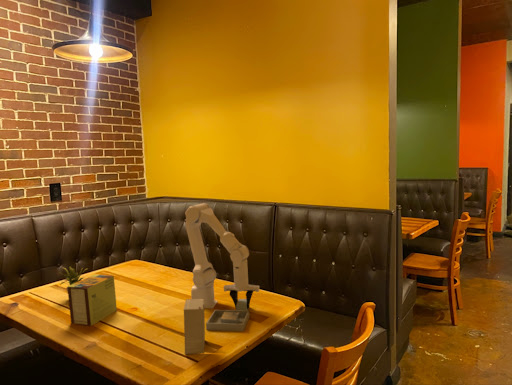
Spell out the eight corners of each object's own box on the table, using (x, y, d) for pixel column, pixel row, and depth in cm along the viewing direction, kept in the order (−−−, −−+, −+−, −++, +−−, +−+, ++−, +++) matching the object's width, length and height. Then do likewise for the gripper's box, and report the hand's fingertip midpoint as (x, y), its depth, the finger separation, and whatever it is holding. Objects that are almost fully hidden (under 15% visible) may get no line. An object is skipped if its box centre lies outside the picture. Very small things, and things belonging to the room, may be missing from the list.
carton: (236, 314, 152) (236, 304, 151) (239, 308, 158) (238, 299, 157) (246, 314, 151) (245, 304, 151) (248, 308, 157) (248, 299, 157)
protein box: (117, 310, 161) (114, 275, 160) (91, 326, 147) (87, 288, 145) (97, 308, 165) (94, 273, 163) (70, 323, 150) (66, 286, 148)
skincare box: (186, 342, 130) (183, 298, 129) (207, 340, 131) (204, 297, 129) (184, 355, 122) (180, 308, 120) (206, 353, 123) (203, 307, 121)
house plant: (49, 303, 172) (45, 269, 171) (73, 292, 185) (70, 260, 183) (72, 307, 167) (68, 271, 165) (95, 295, 180) (92, 262, 178)
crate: (206, 331, 138) (206, 323, 138) (215, 316, 150) (214, 309, 150) (243, 332, 136) (243, 324, 136) (249, 317, 148) (249, 310, 147)
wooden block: (220, 327, 139) (220, 318, 139) (224, 320, 145) (224, 311, 145) (236, 328, 138) (236, 319, 138) (240, 320, 144) (239, 312, 144)
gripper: (221, 279, 150) (222, 311, 151) (256, 279, 148) (258, 312, 149) (225, 273, 157) (227, 304, 158) (259, 273, 154) (261, 305, 156)
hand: (242, 307), depth 154 cm, fingers closed on carton, 4 cm apart
